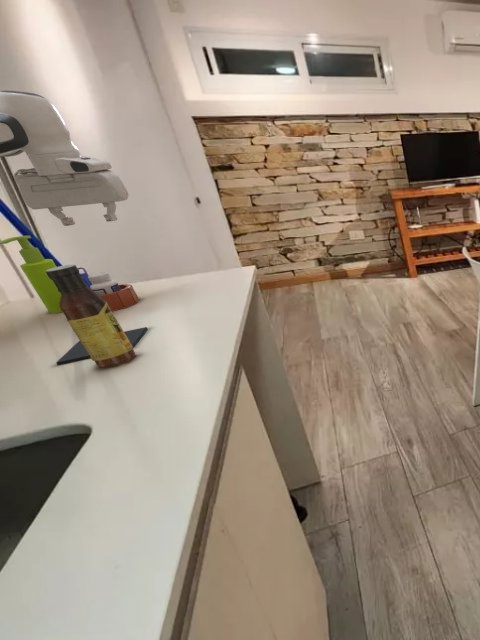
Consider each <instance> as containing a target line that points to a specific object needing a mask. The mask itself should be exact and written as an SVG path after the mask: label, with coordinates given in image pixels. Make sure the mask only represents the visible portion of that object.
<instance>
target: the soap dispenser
mask: <svg viewBox="0 0 480 640" xmlns="http://www.w3.org/2000/svg"><path fill="white" fill-rule="evenodd" d="M28 239H32V237H31V235H20V236H13V237H8V238H5V239H3V240H0V244H1V245H5V244H9V243H12V242H16V241H17V243H18V244H19V246H20V247H21V248H20V250H18V253H19V255H20V256H21V257H22V259H23V260H24V263H22V264H21V265H19V267H20V269H21V270H22V272H23V273H24V275H25V276H26V278H27V279H28V281H29V283H30V284H31V287H32V288H33V289H34V291H35V292H36V293H37V295H38V297H39V298H40V300H41V302H42V304H43V305H44V307H45V308H46V310H47V311H48V313H49V314H58V313H63V312H62V311H61V309H60V299H61V293H60V292H59V291H58V288H57V287H56V285H55V284H54V282H53V280H51V279H50V278H49V277H48V275H47V273H46V270H48V269H52V268H55V267H57V265H56V263H55V262H54V260H53V259H51V258H45V257H44V255H43V254H42V252H41V251H40V249H39V248H38V247H35V246H32V244H31V243H30V241H29V240H28Z"/></svg>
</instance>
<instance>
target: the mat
mask: <svg viewBox="0 0 480 640" xmlns="http://www.w3.org/2000/svg"><path fill="white" fill-rule="evenodd" d="M147 331H148V327H147V326H144V327H139V328H135V329H129V330H125V331H124V333H125V334H126V336H127V338H128V340H129V341H130V343H131V345H132V346H133V348H134V347H135V346H136V344H137V343H138V342H139V341H140V340H141V339H142V338H143V336H144V335H145V334H146V332H147ZM88 359H91V357H90V355H89V354H88V352H87V351H86V349H85V348H84V346H83V345H82V343H81V341H80V340H78V341H77V343H75V344H74V345H73V346H72V347H71V348H70V349H69V350H67V352H66V353H65V354H64V355H63V356H61V357H60V358H59V359H58V360H57V361H56V365H57V366H60V365H65V364H68V363H69V364H70V363H74V362H78V361H82V360H83V361H84V360H88Z"/></svg>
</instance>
